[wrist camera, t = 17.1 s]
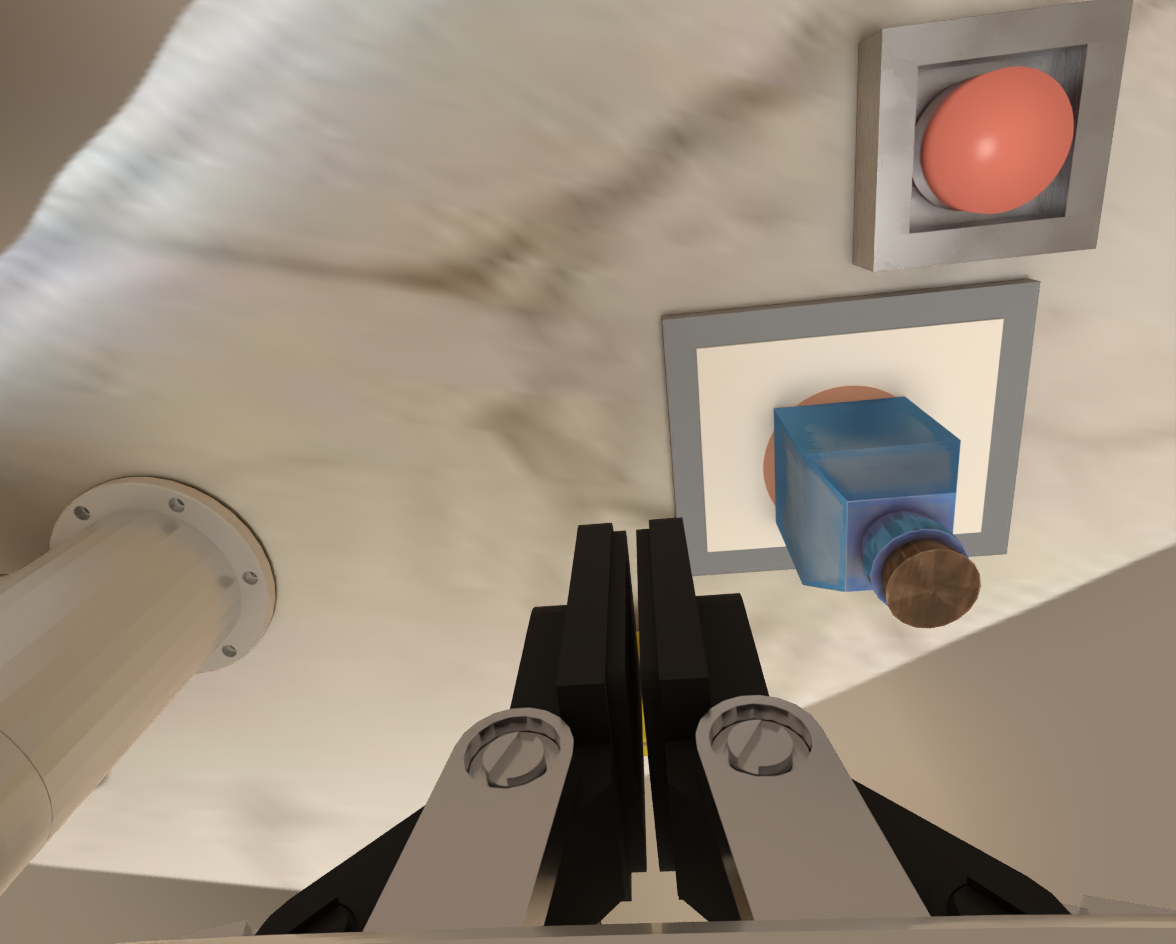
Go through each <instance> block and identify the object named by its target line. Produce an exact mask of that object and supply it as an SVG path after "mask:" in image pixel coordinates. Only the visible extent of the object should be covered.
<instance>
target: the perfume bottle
mask: <svg viewBox="0 0 1176 944" xmlns="http://www.w3.org/2000/svg"><path fill="white" fill-rule="evenodd" d="M960 444H961V440H960V439H959V438H957V437H956V436H955V435H954V434H952V433H951V432H950V431H949V430H947V429H946V428H945V427H943V426H942V425H941V424H940V423H938V422H937V421H936V420H934V419H933V418H932V417H931V416H929V415H928V414H927V413H926V412H924V411H923V410H922V409H920V408H919V407H918V406H917V405H915V404H914V403H913V402H911V401H910V400H909V399H908V398H906V397H905V396H903V397H893V398H882V399H871V400H860V401H849V402H839V403H828V404H817V405H806V406H795V407H785V408H774V451H775V510H776V524H777V526H778V529H779V531H780V533H781V536H782V538H783V540H784V543H785V545H786V547H787V549H788V552H789V554H790V556H791V559H792V561H793V563H794V566H795V568H796V570H797V573H798V575H799V577H800V579H801V582H802V584H803V585H806V586H812V587H818V588H824V589H831V590H837V591H843V592H851V591H865V590H874V592H875V594H876V595H877V597H878V599H880V600H881V601H882V602H883V603H885V604H886V605H887V606H888V607H889V609H890V610H891V612H892V614H893V615H894V616H895V617H896V618H897V619H899V620H900V621H901V622H903V623H905V624H907V625H910V626H913V627H916V628H935V627H940V626H945V625H947V624H949V623H951V622H953V621H956V620H958V619H959V618H960V617H962V616H963V615H964V614H965V613H967V612H968V611H969V610H970V609H971V607H972V606H973V604H974V603H975V601H976V600H977V598H978V595H979V591H980V588H981V582H980V574H979V572H978V570H977V568H976V566H975V564H974V563H973V562H972V561H971V560H969V559H968V554H967V552H966V550H965V548H964V546H963V545H962V543H961V542H960V541H959V540H958V539H957V538H956V537H955V536H954V534H953V527H954V516H955V504H956V493H957V480H958V468H959V456H960Z"/></svg>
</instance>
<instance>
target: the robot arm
mask: <svg viewBox="0 0 1176 944" xmlns="http://www.w3.org/2000/svg"><path fill="white" fill-rule="evenodd" d="M636 539H637V576H638V613H639V650H640V662H639V652H638V643H637V633H636V623H635V613H634V603H633V594H632V584H631V574H630V564H629V554H628V545H627V535H626V531H613V525H612V523H602V524H589V525H579V526H578V531H577V538H576V545H575V552H574V559H573V566H572V574H571V581H570V588H569V595H568V602H567V605H558V606H543V607H534V608H533V610H532V612H531V616H530V621H529V625H528V630H527V634H526V639H525V643H524V648H523V653H522V657H521V662H520V666H519V671H518V675H517V680H516V684H515V689H514V693H513V698H512V703H511V707H510V709H509V710H505V711H501V712H498V713H494V714H492V715H490V716H488V717H486V718H484V719H482V720H480V721H478V722H477V723H476V724H475V725H473V726H472V727H471V728H470V729H468V730H467V731H466V732H465V733H464V734H463V735H462V737H461V738H460V740H459V741H458V743H457V744H456V745H455V747H454V749H453V751H452V753H451V755H450V757H449V759H448V761H447V763H446V765H445V767H444V769H443V771H442V773H441V775H440V777H439V779H438V781H437V783H436V785H435V787H434V789H433V791H432V793H431V795H430V797H429V799H428V801H427V803H426V805H425V806H424V807H422V808H421V809H419V810H418V811H416V812H415V813H413V814H412V815H411V816H409V817H408V818H406V819H405V820H403V821H402V822H400V823H399V824H398V825H396V826H395V827H393V828H392V829H390V830H389V831H387V832H386V833H385V834H383V835H382V836H380V837H379V838H377V839H376V840H374V841H373V842H372V843H370V844H369V845H367V846H366V847H364V848H363V849H361V850H360V851H359V852H357V853H356V854H354V855H353V856H351V857H350V858H348V859H347V860H346V861H344V862H343V863H341V864H340V865H338V866H337V867H335V868H334V869H333V870H331V871H330V872H328V873H327V874H325V875H324V876H322V877H321V878H320V879H318V880H317V881H315V882H314V883H312V884H311V885H309V886H308V887H307V888H305V889H304V890H302V891H301V892H299V893H298V894H297V895H295V896H294V897H292V898H291V899H289V900H288V901H287V902H286V903H285V904H283V905H282V906H281V907H280V908H279V909H278V910H276V911H275V912H274V913H273V914H272V915H270V917H269V918H268V919H267V920H266V921H265V922H264V924H263V925H262V926H261V928H258V929H254V930H251V928H250V926H249V924H248V921H247V920H243V921H239V922H235V923H231V924H227V925H223V926H219V927H215V928H211V929H207V930H203V931H199V932H195V933H191V934H187V935H183V936H179V937H175V938H171V939H167V940H163V941H146V942H131V943H119V944H1176V910H1170V909H1164V908H1158V907H1152V906H1146V905H1140V904H1134V903H1128V902H1122V901H1116V900H1110V899H1104V898H1098V897H1092V896H1085V895H1083V896H1082V901H1081V906H1080V907H1077V906H1071V905H1065V904H1061V903H1060V902H1059V900H1058V899H1056V897H1055V896H1054V895H1053V894H1052V893H1051V892H1049V891H1048V890H1046V889H1045V888H1043V887H1042V886H1040V885H1039V884H1037V883H1036V882H1035V881H1033V880H1032V879H1030V878H1029V877H1027V876H1026V875H1024V874H1022V873H1020V872H1018V871H1017V870H1015V869H1013V868H1011V867H1010V866H1008V865H1006V864H1004V863H1002V862H1001V861H999V860H997V859H995V858H993V857H991V856H989V855H988V854H986V853H984V852H982V851H981V850H979V849H977V848H975V847H974V846H972V845H970V844H968V843H966V842H965V841H963V840H960V839H959V838H957V837H955V836H954V835H952V834H950V833H948V832H947V831H945V830H943V829H941V828H939V827H937V826H936V825H934V824H932V823H930V822H929V821H927V820H925V819H923V818H921V817H920V816H918V815H916V814H914V813H912V812H911V811H909V810H907V809H905V808H903V807H902V806H899V805H898V804H896V803H894V802H893V801H891V800H889V799H887V798H885V797H884V796H882V795H880V794H878V793H876V792H875V791H873V790H871V789H869V788H867V787H866V786H864V785H862V784H860V783H858V782H857V781H855V780H853V779H851V777H850V776H849V774H848V772H847V770H846V769H845V767H844V765H843V764H842V762H841V760H840V758H839V757H838V755H837V753H836V751H835V750H834V748H833V746H832V744H831V743H830V741H829V739H828V738H827V736H826V734H825V732H824V731H823V729H822V727H821V726H820V725H819V724H818V723H817V721H816V720H815V719H814V718H813V716H812V715H810V714H809V713H807V712H806V711H805V710H803V709H802V708H800V707H799V706H797V705H796V704H793V703H790V702H788V701H785V700H782V699H780V698H775V697H769V694H768V690H767V686H766V683H765V679H764V676H763V672H762V668H761V665H760V661H759V657H758V654H757V650H756V647H755V643H754V639H753V636H752V632H751V628H750V625H749V621H748V617H747V614H746V610H745V607H744V603H743V599H742V597H741V594H740V593H735V594H720V595H705V596H695V590H694V584H693V578H692V572H691V566H690V560H689V554H688V548H687V542H686V536H685V529H684V523H683V518H682V517H680V518H667V519H654V520H649V529H639V530H636ZM274 605H275V583H274V579H273V575H272V571H271V567H270V564H269V562H268V560H267V558H266V556H265V554H264V551H263V549H262V547H261V546H260V544H259V543H258V541H257V540H256V539H255V537H254V536H253V534H252V533H251V532H250V530H249V529H248V528H247V527H246V526H245V525H244V524H243V523H242V522H241V521H240V520H239V519H238V518H237V517H236V516H235V515H234V514H233V513H232V512H231V511H230V510H228V509H227V508H225V507H224V506H223V505H221V504H220V503H219V502H217V501H216V500H215V499H213V498H211V497H209V496H207V495H205V494H204V493H202V492H200V491H198V490H196V489H194V488H191V487H188V486H186V485H183V484H180V483H177V482H174V481H170V480H165V479H159V478H153V477H127V478H122V479H116V480H111V481H108V482H106V483H103V484H101V485H99V486H96V487H94V488H92V489H90V490H89V491H87V492H86V493H84V494H82V495H81V496H79V497H77V498H76V499H74V500H73V501H72V502H71V503H70V504H69V505H68V506H67V507H66V508H65V509H64V510H63V511H62V513H61V515H60V516H59V518H58V520H57V521H56V523H55V525H54V527H53V530H52V534H51V537H50V541H49V551H48V552H47V553H45V554H44V555H42V556H41V557H39V558H38V559H36V560H34V561H33V562H31V563H30V564H28V565H27V566H25V567H24V568H21V569H19V570H18V571H17V572H16V573H14V574H12V575H9V574H0V895H1V894H2V893H3V892H4V891H5V890H6V889H7V887H8V886H9V885H10V884H11V883H12V882H13V880H14V879H15V878H16V877H17V876H18V875H19V874H20V872H21V871H22V870H23V869H24V868H25V867H26V865H27V864H28V863H29V862H30V861H31V860H32V859H33V857H34V856H35V855H36V854H37V853H38V852H39V851H40V850H41V849H42V848H43V846H44V845H45V844H46V843H47V842H48V841H49V839H50V838H51V837H52V836H53V835H54V834H55V833H56V831H57V830H58V829H59V828H60V827H61V826H62V825H63V823H64V822H65V821H66V820H67V819H68V818H69V817H70V815H71V814H72V813H73V812H74V811H75V810H76V809H77V807H78V806H79V805H80V804H81V803H82V802H83V801H84V799H85V798H86V797H87V796H88V795H89V794H90V793H91V791H92V790H93V789H94V788H95V787H96V786H97V785H98V783H99V782H100V781H101V780H102V779H103V778H104V777H105V775H106V774H107V773H108V772H109V771H110V770H111V769H112V767H113V766H114V765H115V764H116V763H117V762H118V761H119V759H120V758H121V757H122V756H123V755H124V754H125V753H126V751H127V750H128V749H129V748H130V747H131V746H132V745H133V743H134V742H135V741H136V740H137V739H138V738H139V736H140V735H141V734H142V733H143V732H144V731H145V730H146V728H147V727H148V726H149V725H150V724H151V723H152V722H153V720H154V719H155V718H156V717H157V716H158V715H159V714H160V712H161V711H162V710H163V709H164V708H165V707H166V706H167V704H168V703H169V702H170V701H171V700H172V699H173V698H174V696H175V695H176V694H177V693H178V692H179V691H180V690H181V688H182V687H183V686H184V685H185V684H186V683H187V682H188V680H189V679H190V678H191V677H192V676H193V675H194V674H197V673H204V672H211V671H215V670H218V669H220V668H223V667H226V666H229V665H231V664H232V663H234V662H236V661H237V660H239V659H241V658H242V657H244V656H245V655H246V654H247V653H248V652H249V651H250V650H251V649H252V648H253V647H254V646H255V645H256V643H257V642H258V641H259V639H260V638H261V637H262V635H263V634H264V633H265V631H266V629H267V627H268V625H269V623H270V620H271V618H272V616H273V610H274ZM642 704H643V714H644V723H645V733H646V743H647V753H648V762H649V772H650V782H651V791H652V801H653V811H654V820H655V830H656V840H657V850H658V858H659V868H660V871H661V872H662V871H676V881H677V891H678V896H679V900H684V901H685V902H686V903H687V904H689V905H690V906H691V907H692V908H693V909H694V910H696V911H697V912H698V913H699V914H700V915H702V916H703V917H704V918H705V919H706V920H708V921H709V922H678V923H638V924H601V920H602V919H603V918H604V917H605V916H606V915H607V914H608V913H609V912H610V911H611V910H613V909H614V908H615V907H616V906H617V905H618V904H619V903H620V902H622V901H632V900H631V873H632V872H646V870H647V862H646V861H647V859H646V826H645V791H644V755H643V721H642Z"/></svg>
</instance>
